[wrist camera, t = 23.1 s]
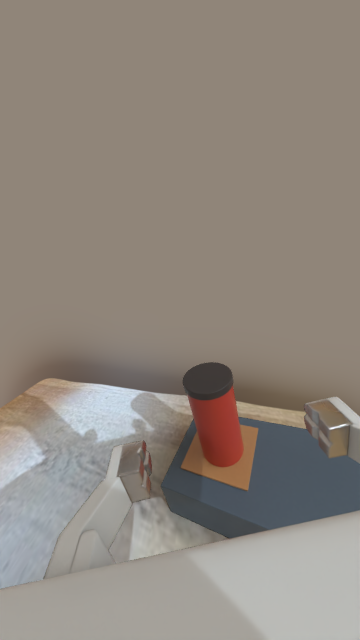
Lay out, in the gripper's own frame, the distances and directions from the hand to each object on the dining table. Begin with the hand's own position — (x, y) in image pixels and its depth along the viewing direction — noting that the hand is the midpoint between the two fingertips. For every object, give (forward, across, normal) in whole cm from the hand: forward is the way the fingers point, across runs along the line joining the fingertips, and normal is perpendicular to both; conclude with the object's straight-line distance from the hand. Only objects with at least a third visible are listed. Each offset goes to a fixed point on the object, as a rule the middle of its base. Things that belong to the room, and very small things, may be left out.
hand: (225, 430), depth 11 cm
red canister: (+12, 0, +16) cm, 20 cm away
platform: (+8, -5, +22) cm, 24 cm away
